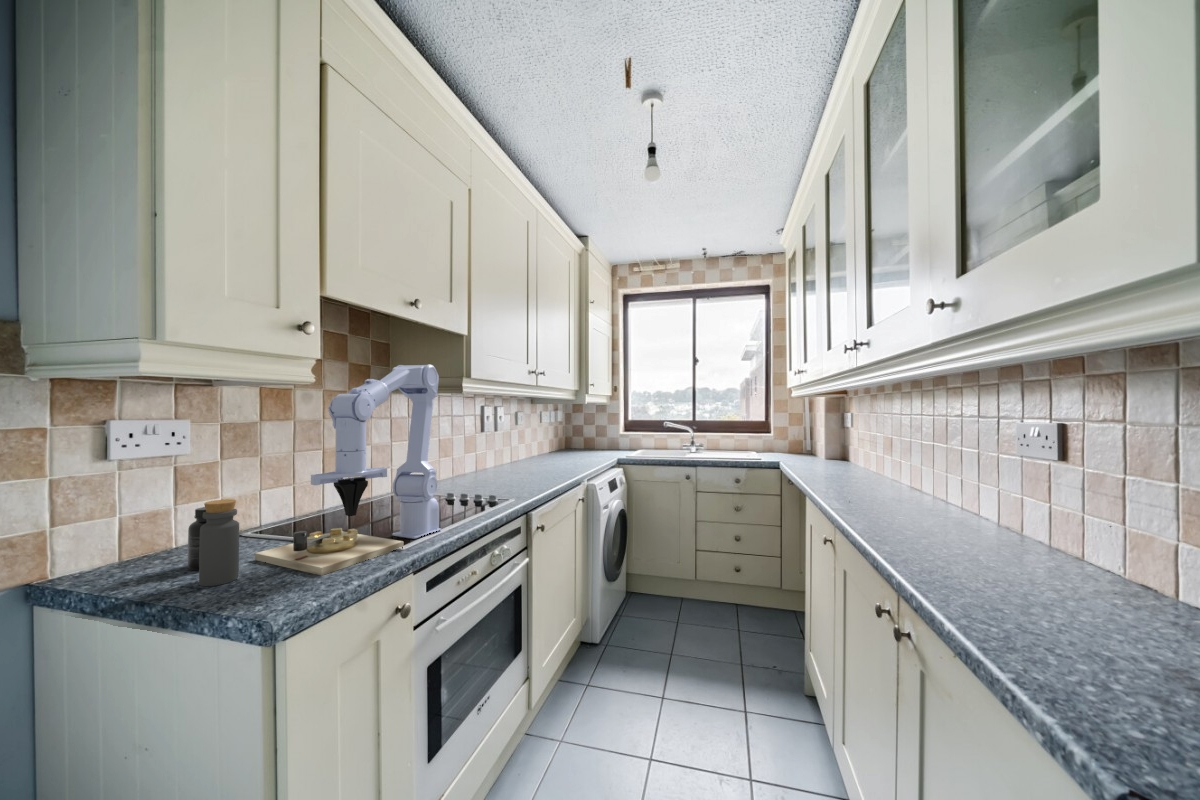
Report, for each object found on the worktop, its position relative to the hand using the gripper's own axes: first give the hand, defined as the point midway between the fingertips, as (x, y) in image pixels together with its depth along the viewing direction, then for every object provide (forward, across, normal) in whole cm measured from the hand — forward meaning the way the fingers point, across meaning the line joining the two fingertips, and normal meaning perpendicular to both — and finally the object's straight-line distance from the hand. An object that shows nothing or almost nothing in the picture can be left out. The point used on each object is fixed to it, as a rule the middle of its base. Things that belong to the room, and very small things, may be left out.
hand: (350, 515), depth 98 cm
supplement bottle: (+10, +19, -22) cm, 31 cm away
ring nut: (+9, +2, -9) cm, 13 cm away
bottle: (+10, +20, -9) cm, 24 cm away
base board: (+10, 0, -10) cm, 15 cm away
